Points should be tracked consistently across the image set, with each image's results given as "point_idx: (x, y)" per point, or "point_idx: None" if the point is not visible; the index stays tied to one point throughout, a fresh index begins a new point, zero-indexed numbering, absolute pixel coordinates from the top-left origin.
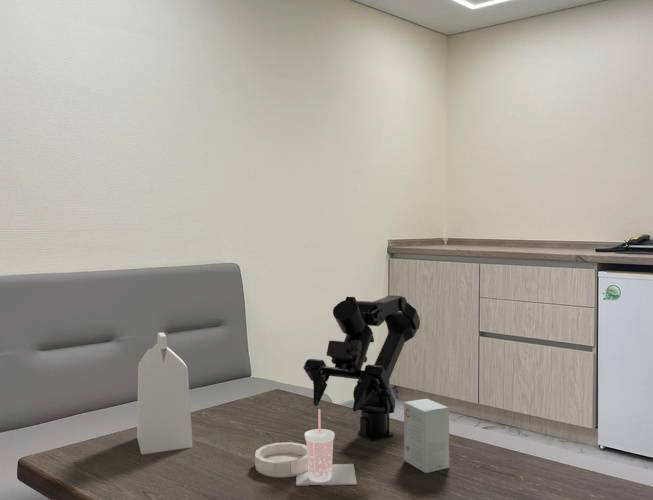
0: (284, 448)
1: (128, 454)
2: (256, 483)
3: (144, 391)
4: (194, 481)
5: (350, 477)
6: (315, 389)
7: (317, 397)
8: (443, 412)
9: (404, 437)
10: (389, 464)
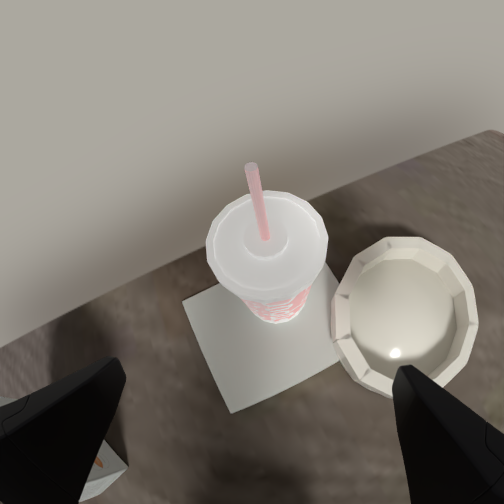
0: (441, 368)
1: None
2: (387, 216)
3: None
4: (464, 185)
5: (205, 327)
6: (470, 425)
7: (415, 404)
8: None
9: (92, 477)
10: (151, 442)
